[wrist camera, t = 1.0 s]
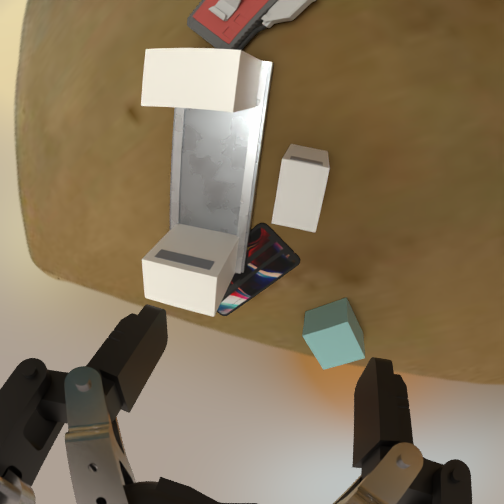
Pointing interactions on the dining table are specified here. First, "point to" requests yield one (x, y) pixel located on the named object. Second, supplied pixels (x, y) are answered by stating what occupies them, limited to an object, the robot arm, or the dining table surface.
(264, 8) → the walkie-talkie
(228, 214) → the grey rectangular tray
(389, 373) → the robot arm
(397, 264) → the dining table surface
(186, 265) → the module
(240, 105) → the block
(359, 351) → the block
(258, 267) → the smartphone
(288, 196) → the block
